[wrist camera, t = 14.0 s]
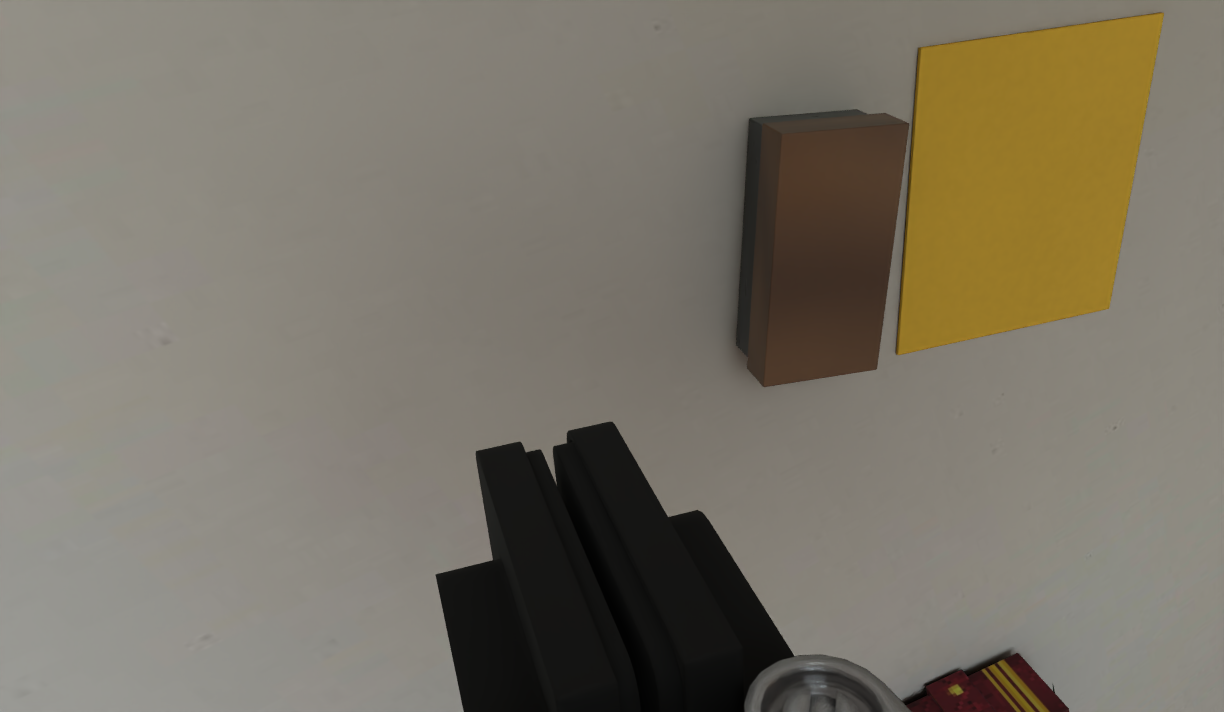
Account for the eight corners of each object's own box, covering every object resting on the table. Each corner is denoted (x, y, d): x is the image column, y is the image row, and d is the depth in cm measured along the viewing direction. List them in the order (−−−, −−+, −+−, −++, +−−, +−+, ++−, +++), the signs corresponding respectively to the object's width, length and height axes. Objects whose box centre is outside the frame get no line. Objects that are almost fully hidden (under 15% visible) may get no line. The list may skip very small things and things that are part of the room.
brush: (743, 112, 33) (781, 134, 30) (863, 102, 34) (910, 123, 32) (730, 350, 37) (763, 387, 35) (837, 335, 38) (877, 370, 36)
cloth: (918, 47, 34) (920, 48, 34) (1161, 12, 36) (1164, 13, 36) (895, 353, 40) (898, 355, 39) (1106, 307, 42) (1109, 308, 42)
